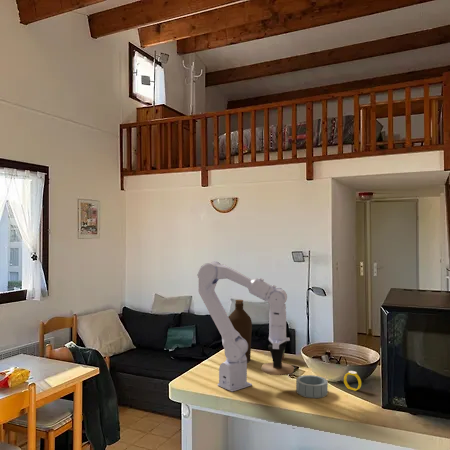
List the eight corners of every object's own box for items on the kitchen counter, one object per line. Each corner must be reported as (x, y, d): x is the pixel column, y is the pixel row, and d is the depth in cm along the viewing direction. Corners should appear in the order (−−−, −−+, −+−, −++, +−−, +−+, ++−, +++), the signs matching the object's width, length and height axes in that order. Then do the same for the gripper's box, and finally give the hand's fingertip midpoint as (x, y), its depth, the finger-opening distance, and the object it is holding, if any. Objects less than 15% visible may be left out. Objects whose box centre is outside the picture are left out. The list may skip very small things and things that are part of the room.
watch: (362, 391, 145) (363, 374, 144) (357, 393, 143) (358, 376, 143) (346, 385, 149) (347, 368, 149) (342, 387, 147) (343, 370, 147)
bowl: (314, 400, 136) (314, 388, 136) (290, 391, 143) (290, 379, 143) (333, 393, 142) (333, 381, 142) (309, 384, 150) (309, 373, 150)
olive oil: (245, 355, 185) (245, 297, 185) (256, 362, 175) (256, 301, 175) (222, 358, 181) (222, 298, 181) (232, 365, 171) (232, 302, 172)
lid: (278, 377, 138) (278, 363, 138) (254, 368, 146) (254, 356, 146) (300, 370, 145) (300, 357, 145) (276, 362, 153) (276, 350, 153)
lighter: (340, 380, 154) (340, 358, 154) (337, 381, 153) (337, 359, 153) (324, 375, 159) (324, 354, 160) (321, 376, 158) (321, 354, 159)
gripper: (288, 330, 138) (288, 372, 137) (290, 320, 152) (290, 359, 152) (266, 329, 139) (266, 370, 139) (270, 319, 153) (270, 358, 153)
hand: (277, 364), depth 145 cm, fingers closed on lid, 3 cm apart
